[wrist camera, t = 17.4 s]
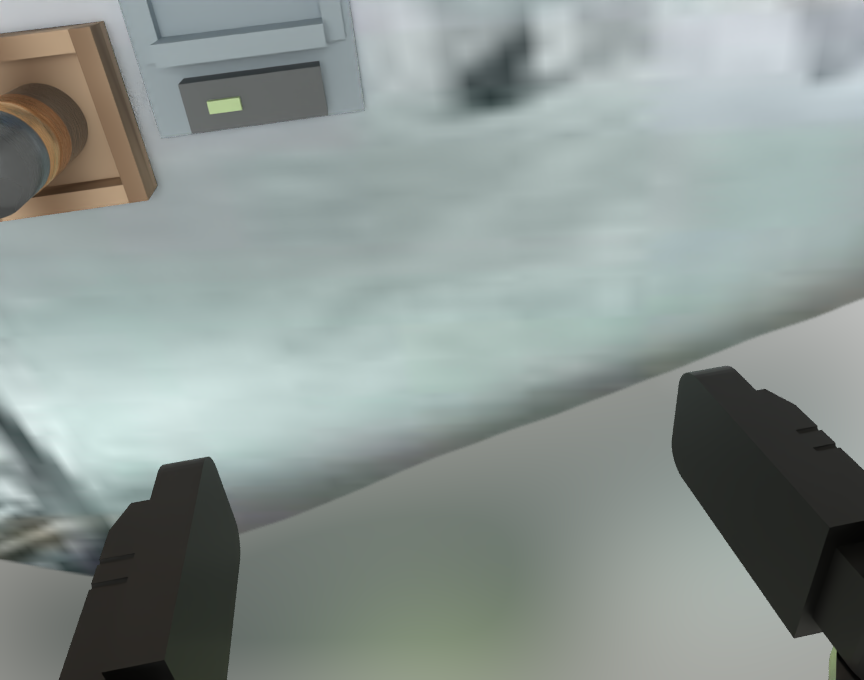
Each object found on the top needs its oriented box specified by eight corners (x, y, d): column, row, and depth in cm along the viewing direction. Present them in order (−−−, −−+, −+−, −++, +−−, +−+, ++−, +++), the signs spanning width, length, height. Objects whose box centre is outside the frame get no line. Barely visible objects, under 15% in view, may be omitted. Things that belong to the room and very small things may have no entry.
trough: (103, 21, 33) (89, 26, 31) (157, 185, 37) (148, 200, 35) (-75, 42, 32) (-102, 50, 30) (1, 207, 37) (-17, 224, 35)
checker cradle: (324, -159, 31) (327, -172, 27) (363, 106, 37) (369, 123, 34) (81, -135, 30) (53, -144, 26) (164, 133, 36) (149, 153, 33)
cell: (71, 76, 33) (-1, 117, 26) (100, 157, 35) (43, 217, 28) (-13, 87, 33) (-112, 132, 25) (22, 168, 35) (-59, 232, 27)
